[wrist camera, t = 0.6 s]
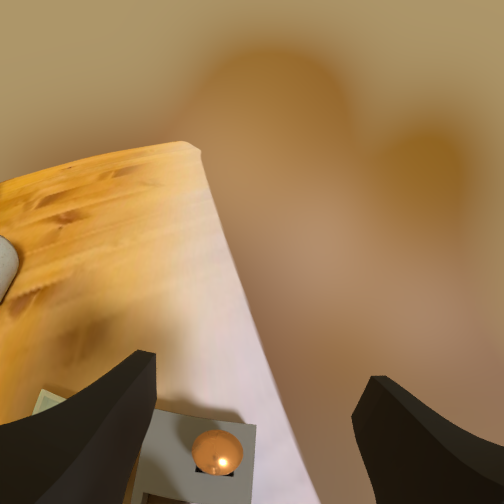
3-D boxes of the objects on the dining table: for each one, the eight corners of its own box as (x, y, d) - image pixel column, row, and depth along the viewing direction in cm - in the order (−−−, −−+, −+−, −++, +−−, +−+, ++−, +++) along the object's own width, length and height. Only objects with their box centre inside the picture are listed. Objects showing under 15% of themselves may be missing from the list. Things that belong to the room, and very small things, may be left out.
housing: (240, 574, 11) (244, 581, 10) (129, 556, 11) (122, 560, 9) (252, 432, 23) (256, 424, 21) (155, 416, 22) (150, 407, 21)
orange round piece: (236, 481, 17) (241, 477, 15) (191, 475, 17) (188, 470, 15) (239, 442, 20) (245, 432, 18) (196, 436, 20) (195, 426, 18)
